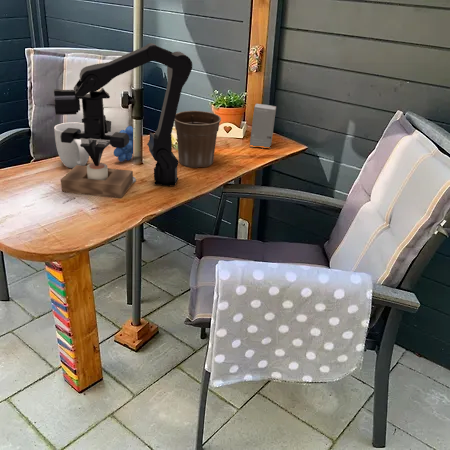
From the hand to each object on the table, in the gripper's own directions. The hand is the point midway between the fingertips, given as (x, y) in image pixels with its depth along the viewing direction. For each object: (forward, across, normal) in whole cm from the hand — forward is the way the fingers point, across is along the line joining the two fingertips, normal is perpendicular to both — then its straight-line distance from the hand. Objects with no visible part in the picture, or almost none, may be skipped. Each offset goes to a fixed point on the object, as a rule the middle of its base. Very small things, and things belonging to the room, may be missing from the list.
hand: (97, 165), depth 146 cm
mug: (+7, +13, -15) cm, 21 cm away
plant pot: (+7, -25, -29) cm, 39 cm away
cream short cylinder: (+6, 0, 0) cm, 6 cm away
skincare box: (+7, -47, -53) cm, 71 cm away
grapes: (+7, -1, -25) cm, 26 cm away
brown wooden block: (+7, 0, 0) cm, 7 cm away
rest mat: (+7, -6, -7) cm, 12 cm away
